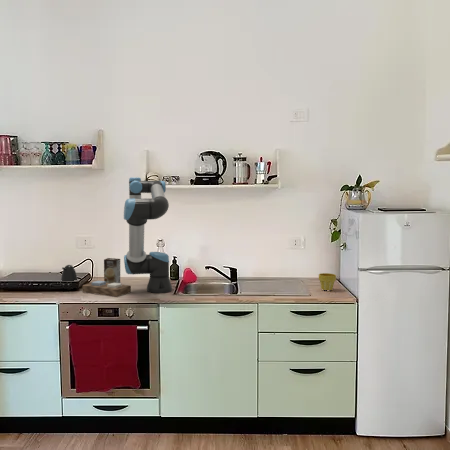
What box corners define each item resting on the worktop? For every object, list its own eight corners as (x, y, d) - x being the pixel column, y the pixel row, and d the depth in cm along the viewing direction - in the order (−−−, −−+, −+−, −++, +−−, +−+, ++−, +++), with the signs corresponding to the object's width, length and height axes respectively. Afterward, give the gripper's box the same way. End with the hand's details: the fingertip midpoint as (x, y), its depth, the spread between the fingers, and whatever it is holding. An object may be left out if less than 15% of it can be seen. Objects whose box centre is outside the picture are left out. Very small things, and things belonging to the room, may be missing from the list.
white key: (121, 289, 306) (121, 283, 306) (115, 291, 301) (115, 285, 301) (113, 287, 309) (113, 282, 309) (107, 289, 304) (107, 284, 303)
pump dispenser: (56, 290, 313) (56, 265, 311) (69, 286, 322) (68, 262, 320) (69, 291, 308) (68, 266, 306) (81, 288, 317) (81, 264, 316)
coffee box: (103, 284, 330) (103, 259, 329) (108, 282, 337) (107, 257, 335) (116, 284, 328) (116, 260, 327) (121, 282, 334) (120, 258, 333)
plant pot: (330, 287, 324) (330, 272, 323) (338, 291, 314) (339, 275, 313) (315, 288, 320) (315, 273, 319) (323, 292, 311) (323, 276, 310)
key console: (130, 292, 308) (130, 285, 307) (117, 296, 296) (116, 290, 296) (97, 287, 320) (97, 281, 319) (82, 291, 308) (82, 285, 308)
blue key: (106, 286, 312) (105, 281, 311) (99, 288, 306) (99, 283, 306) (98, 285, 314) (98, 280, 314) (91, 287, 309) (91, 282, 309)
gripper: (136, 201, 336) (137, 236, 338) (124, 201, 324) (124, 239, 327) (146, 201, 333) (146, 237, 335) (133, 202, 321) (134, 239, 323)
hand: (135, 238), depth 331 cm, fingers closed
